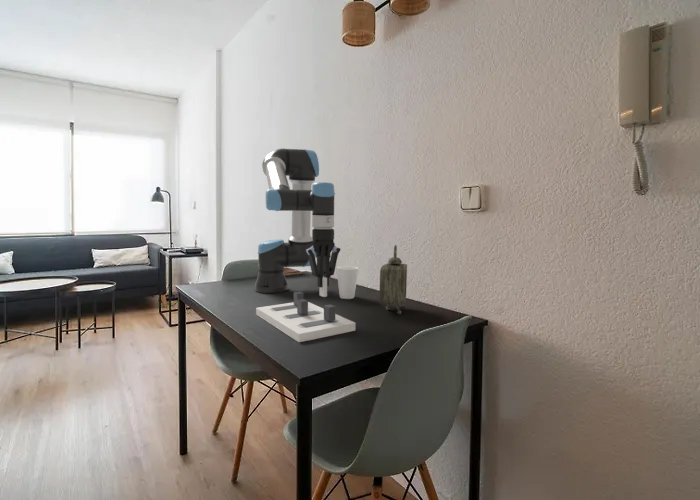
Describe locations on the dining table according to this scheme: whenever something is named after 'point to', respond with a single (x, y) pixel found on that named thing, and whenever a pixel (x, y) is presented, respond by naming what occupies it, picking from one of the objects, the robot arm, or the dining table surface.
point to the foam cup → (347, 281)
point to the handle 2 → (329, 312)
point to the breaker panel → (304, 321)
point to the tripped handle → (302, 306)
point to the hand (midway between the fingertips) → (323, 295)
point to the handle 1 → (297, 297)
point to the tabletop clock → (393, 282)
